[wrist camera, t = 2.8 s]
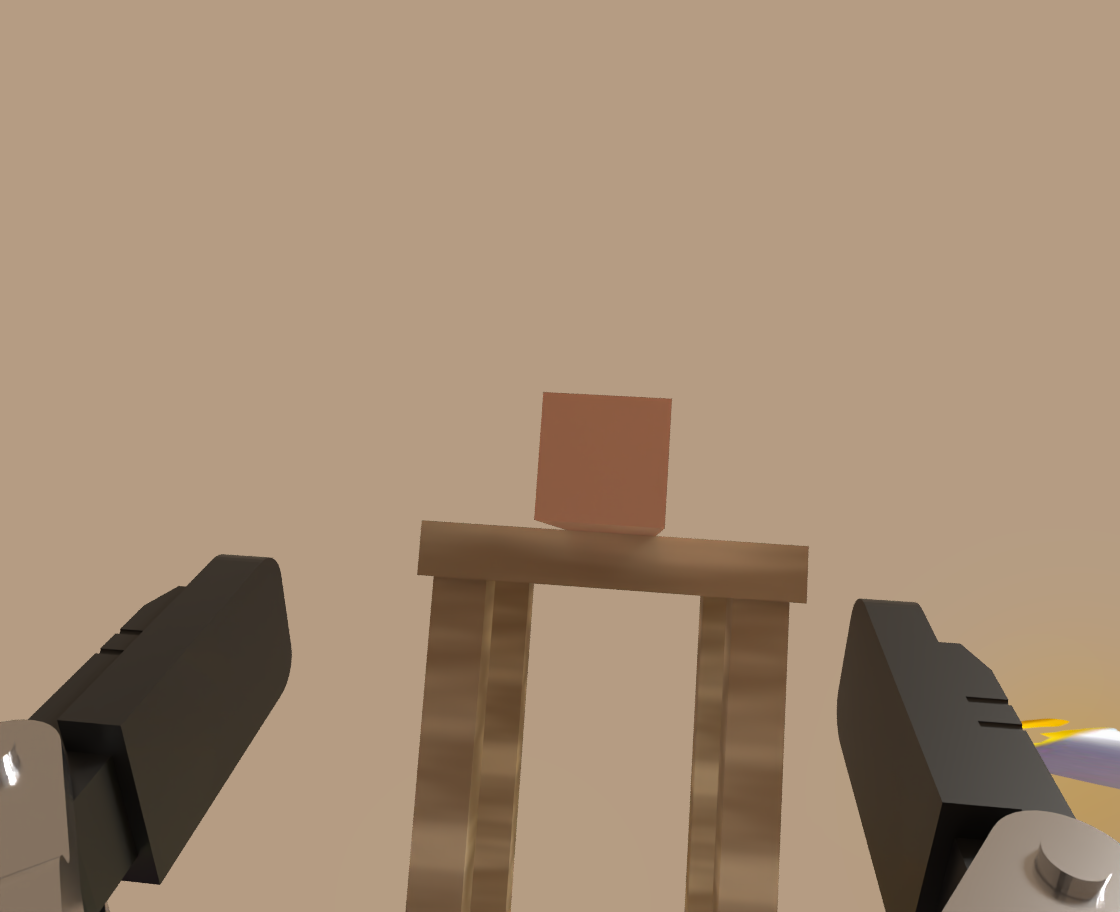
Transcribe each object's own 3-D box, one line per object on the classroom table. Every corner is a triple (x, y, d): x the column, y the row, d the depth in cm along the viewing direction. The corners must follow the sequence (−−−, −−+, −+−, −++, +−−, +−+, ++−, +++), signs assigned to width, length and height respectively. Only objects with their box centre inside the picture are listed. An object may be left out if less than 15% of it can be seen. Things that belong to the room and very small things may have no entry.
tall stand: (770, 1569, 26) (808, 546, 30) (338, 1490, 28) (421, 520, 31) (720, 1189, 42) (748, 548, 46) (446, 1150, 44) (493, 530, 47)
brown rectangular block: (664, 528, 21) (672, 398, 21) (534, 520, 21) (543, 392, 21) (648, 541, 46) (652, 483, 47) (590, 537, 47) (594, 479, 47)
